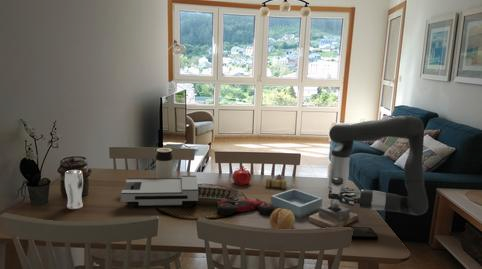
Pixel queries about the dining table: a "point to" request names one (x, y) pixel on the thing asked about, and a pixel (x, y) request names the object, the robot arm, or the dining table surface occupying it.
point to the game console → (161, 192)
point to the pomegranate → (241, 176)
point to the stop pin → (336, 192)
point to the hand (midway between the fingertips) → (328, 194)
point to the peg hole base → (333, 217)
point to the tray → (297, 202)
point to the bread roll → (282, 219)
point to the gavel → (276, 182)
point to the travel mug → (164, 163)
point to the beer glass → (74, 188)
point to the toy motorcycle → (244, 206)
